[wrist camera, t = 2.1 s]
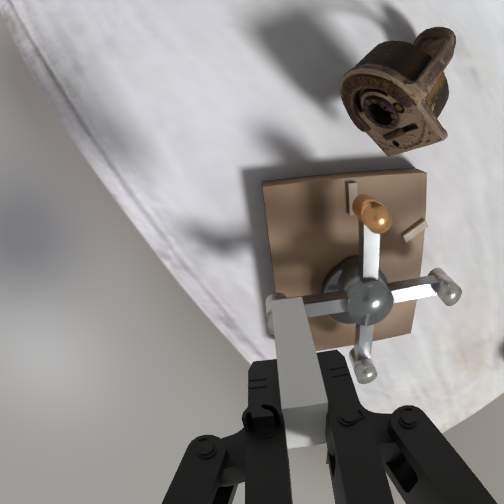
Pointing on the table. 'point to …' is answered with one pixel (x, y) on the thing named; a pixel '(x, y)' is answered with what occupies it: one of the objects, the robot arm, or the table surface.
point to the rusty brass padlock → (401, 91)
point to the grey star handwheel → (367, 287)
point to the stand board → (344, 239)
